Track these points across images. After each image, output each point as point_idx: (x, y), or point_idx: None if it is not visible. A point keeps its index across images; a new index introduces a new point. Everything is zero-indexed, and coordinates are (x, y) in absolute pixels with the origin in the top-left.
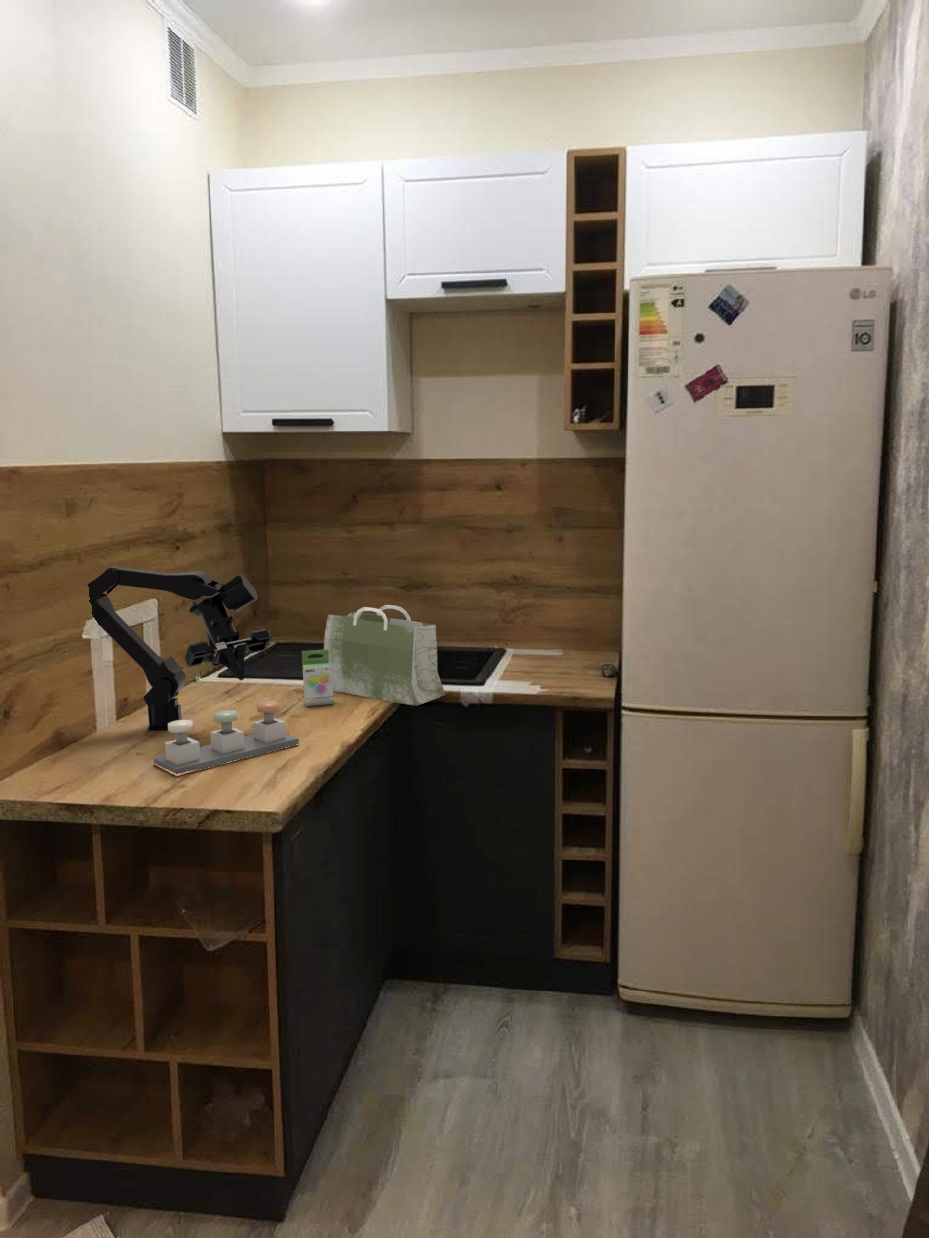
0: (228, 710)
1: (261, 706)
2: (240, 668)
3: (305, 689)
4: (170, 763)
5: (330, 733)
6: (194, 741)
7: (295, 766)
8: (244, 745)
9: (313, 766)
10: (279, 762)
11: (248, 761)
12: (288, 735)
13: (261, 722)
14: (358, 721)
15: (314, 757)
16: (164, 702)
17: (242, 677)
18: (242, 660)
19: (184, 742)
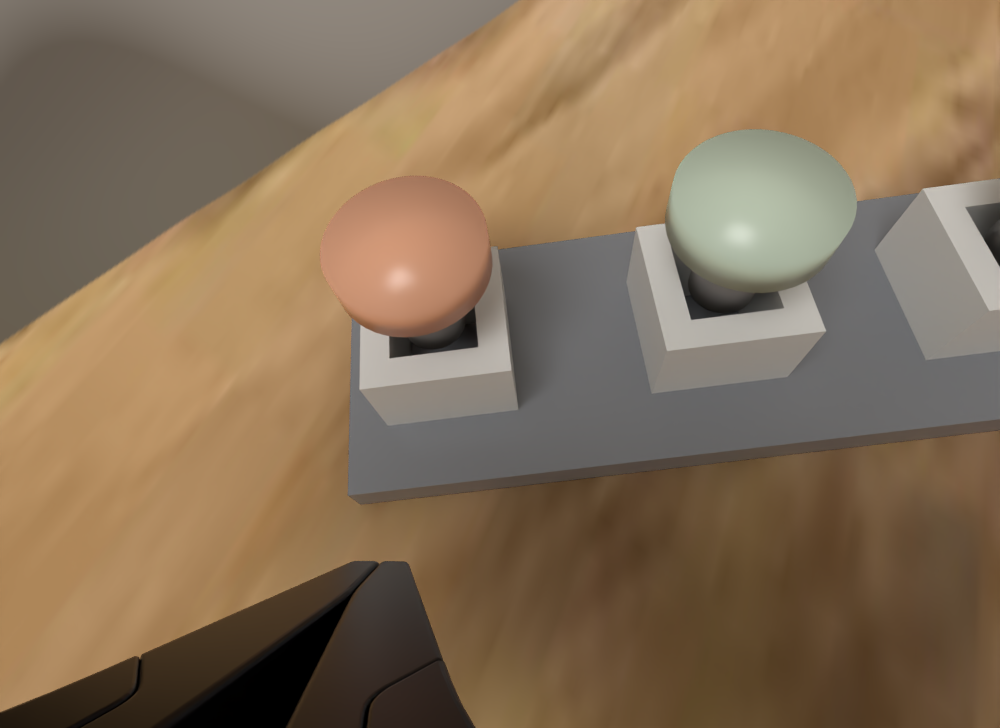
0: (722, 244)
1: (473, 209)
2: (326, 612)
3: None
4: None
5: (151, 358)
6: (950, 213)
7: (513, 90)
8: (628, 274)
9: (464, 65)
10: (540, 149)
11: (642, 218)
12: (359, 336)
13: (463, 351)
14: None
15: (408, 133)
16: None
17: (379, 566)
18: (148, 671)
19: None
